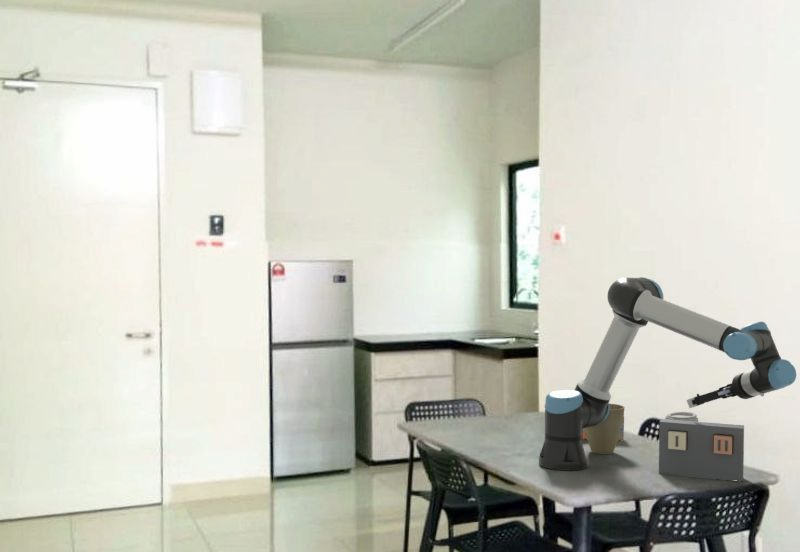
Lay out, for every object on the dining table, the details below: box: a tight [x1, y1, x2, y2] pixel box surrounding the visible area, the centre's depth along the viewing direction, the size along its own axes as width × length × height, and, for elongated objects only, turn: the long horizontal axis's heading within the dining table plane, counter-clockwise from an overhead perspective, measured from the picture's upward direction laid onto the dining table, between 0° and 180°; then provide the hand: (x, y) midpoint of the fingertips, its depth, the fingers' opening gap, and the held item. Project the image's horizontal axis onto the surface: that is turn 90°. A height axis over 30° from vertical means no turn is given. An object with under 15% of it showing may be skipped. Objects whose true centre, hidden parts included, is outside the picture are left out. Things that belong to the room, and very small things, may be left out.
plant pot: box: [584, 402, 625, 455], centre depth 286 cm, size 15×15×16 cm
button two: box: [714, 435, 732, 455], centre depth 246 cm, size 3×5×5 cm, turn 66°
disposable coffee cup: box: [664, 411, 699, 422], centre depth 278 cm, size 11×11×15 cm
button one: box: [668, 431, 687, 450], centre depth 252 cm, size 3×5×5 cm, turn 66°
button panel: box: [658, 418, 745, 482], centre depth 253 cm, size 6×24×16 cm, turn 66°
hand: (705, 399), depth 262 cm, fingers open, 13 cm apart
